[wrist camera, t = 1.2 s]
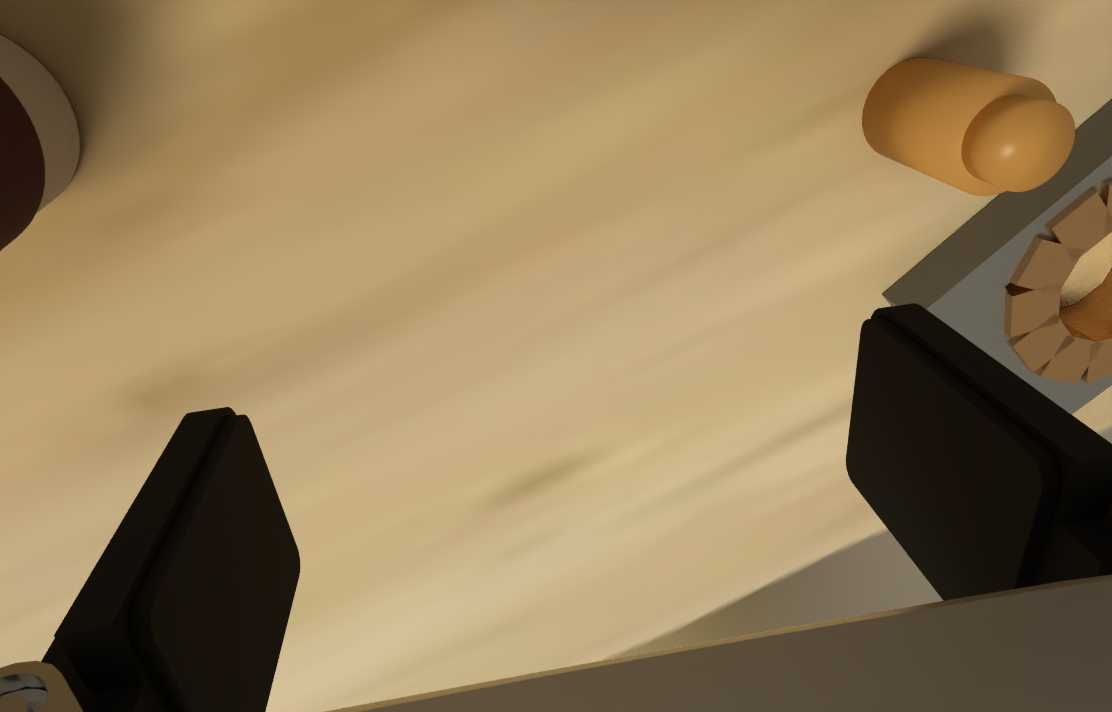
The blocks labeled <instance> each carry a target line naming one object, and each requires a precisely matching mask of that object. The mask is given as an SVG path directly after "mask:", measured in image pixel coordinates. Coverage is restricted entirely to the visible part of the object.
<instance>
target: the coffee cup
mask: <svg viewBox="0 0 1112 712" xmlns="http://www.w3.org/2000/svg"><path fill="white" fill-rule="evenodd" d="M79 155H80V135H79V131H78V126H77V121H76V117H75V115H74V112H73V110H72V108H71V105H70V103H69V101H68V99H67V97H66V95H65V94H64V92H63V90H62V89H61V87H60V85H59V84H58V83H57V81H56V80H55V79H54V78H53V76H52V75H51V74H50V73H49V72H48V71H47V69H46V68H45V67H44V66H43V65H42V64H41V63H40V62H39V61H37V60H36V59H35V58H34V57H33V56H32V55H31V54H29V53H28V52H27V51H25V50H24V49H22V48H21V47H20V46H18V45H17V44H15V43H14V42H12V41H11V40H9V39H7V38H5V37H3V36H1V35H0V251H1V250H2V249H3V248H4V247H6V246H7V245H8V244H9V243H10V242H12V241H13V240H14V239H15V238H17V237H18V236H19V235H20V234H21V233H22V232H23V231H24V230H25V229H26V227H27V226H28V225H29V224H30V223H31V221H32V220H33V218H34V216H35V214H36V213H37V212H39V211H40V210H41V209H42V208H44V207H45V206H46V205H47V204H49V203H50V202H51V201H53V200H54V199H55V198H56V197H57V196H58V195H60V194H61V193H62V192H63V190H64V189H65V188H66V187H67V186H68V184H69V182H70V181H71V179H72V177H73V175H74V172H75V170H76V167H77V163H78V159H79Z"/></svg>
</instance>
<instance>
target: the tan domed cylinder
mask: <svg viewBox="0 0 1112 712" xmlns="http://www.w3.org/2000/svg"><path fill="white" fill-rule="evenodd" d="M862 126H863V132H864V136H865V138H866V140H867V142H868V143H869V145H870V146H871V147H872V148H873V150H875V151H876V152H877V153H879V154H881V155H883V156H885V157H887V158H890V159H892V160H894V161H896V162H899V163H901V164H903V165H905V166H908V167H910V168H912V169H915V170H917V171H919V172H921V173H924V174H926V175H928V176H930V177H933V178H935V179H937V180H940V181H942V182H944V183H946V184H949V185H951V186H953V187H955V188H958V189H960V190H962V191H965V192H967V193H970V194H972V195H977V196H990V195H996V194H1000V193H1003V192H1005V191H1011V192H1023V191H1028V190H1031V189H1034V188H1036V187H1038V186H1040V185H1042V184H1043V183H1045V182H1046V181H1048V180H1049V179H1050V178H1051V177H1052V176H1054V175H1055V174H1056V173H1057V171H1058V170H1059V169H1060V168H1061V167H1062V165H1063V164H1064V163H1065V161H1066V159H1067V158H1068V156H1069V154H1070V152H1071V149H1072V146H1073V143H1074V138H1075V124H1074V120H1073V118H1072V115H1071V114H1070V112H1069V111H1068V110H1067V109H1066V108H1065V107H1064V106H1062V105H1061V104H1058V103H1056V100H1055V97H1054V95H1053V94H1052V92H1051V91H1050V89H1049V88H1048V87H1047V86H1046V85H1044V84H1043V83H1041V82H1040V81H1038V80H1035V79H1032V78H1028V77H1023V76H1018V75H1012V74H1007V73H1002V72H997V71H992V70H987V69H981V68H976V67H971V66H966V65H961V64H956V63H951V62H945V61H940V60H935V59H930V58H921V57H919V58H912V59H908V60H905V61H902V62H900V63H898V64H896V65H895V66H893V67H892V68H890V69H889V70H888V71H886V72H885V73H884V74H883V75H882V76H881V77H880V78H879V79H878V81H877V82H876V83H875V84H874V86H873V88H872V89H871V91H870V93H869V95H868V97H867V99H866V102H865V105H864V109H863V115H862Z"/></svg>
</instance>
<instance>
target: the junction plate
mask: <svg viewBox="0 0 1112 712" xmlns="http://www.w3.org/2000/svg"><path fill="white" fill-rule="evenodd" d="M1109 179H1112V100H1110V101H1109V102H1108V103H1107V104H1106V105H1105V106H1103V107H1102V108H1101V109H1100V110H1099V111H1098V112H1096V113H1095V114H1094V115H1093V116H1092V117H1090V118H1089V119H1088V120H1087V121H1086V122H1085V123H1083V124H1082V125H1081V126H1080V127H1079V128H1077V129H1076V130H1075V138H1074V143H1073V146H1072V149H1071V152H1070V154H1069V156H1068V158H1067V159H1066V161H1065V163H1064V164H1063V165H1062V167H1061V168H1060V169H1059V170H1058V171H1057V173H1056V174H1055V175H1054V176H1052V177H1051V178H1050V179H1049V180H1048V181H1046V182H1045V183H1043V184H1042V185H1040V186H1038V187H1036V188H1034V189H1031V190H1028V191H1023V192H1011V191H1005V192H1003V193H1001V194H1000V195H998V196H997V197H996V198H995V199H994V200H993V201H991V202H990V203H989V204H988V205H987V206H986V207H984V208H983V209H982V210H981V211H980V212H978V213H977V214H976V215H975V216H974V217H973V218H971V219H970V220H969V221H968V222H967V223H965V224H964V225H963V226H962V227H961V228H960V229H958V230H957V231H956V232H955V233H954V234H953V235H951V236H950V237H949V238H948V239H947V240H945V241H944V242H943V243H942V244H941V245H940V246H938V247H937V248H936V249H935V250H934V251H932V252H931V253H930V254H929V255H928V256H927V257H925V258H924V259H923V260H922V261H921V262H920V263H918V264H917V265H916V266H915V267H914V268H912V269H911V270H910V271H909V272H908V273H907V274H905V275H904V276H903V277H902V278H901V279H899V280H898V281H897V282H896V283H895V284H894V285H892V286H891V287H890V288H889V289H888V290H887V291H885V292H884V293H883V294H882V295H883V296H884V297H885V299H886V300H887V301H888V302H889V303H890V305H891V306H898V305H904V304H911V303H917V304H919V305H921V306H922V307H924V308H925V309H926V310H928V311H929V312H931V313H932V314H933V315H935V316H936V317H937V318H939V319H940V320H942V321H943V322H944V323H946V324H947V325H948V326H950V327H951V328H953V329H954V330H955V331H957V332H958V333H959V334H961V335H962V336H964V337H965V338H966V339H968V340H969V341H971V342H972V343H973V344H975V345H976V346H977V347H979V348H980V349H982V350H983V351H984V352H986V353H987V354H988V355H990V356H991V357H993V358H994V359H995V360H997V361H998V362H999V363H1001V364H1002V365H1004V366H1005V367H1006V368H1008V369H1009V370H1010V371H1012V372H1013V373H1015V374H1016V375H1017V376H1019V377H1020V378H1021V379H1023V380H1024V381H1026V382H1027V383H1028V384H1030V385H1031V386H1033V387H1034V388H1035V389H1037V390H1038V391H1039V392H1041V393H1042V394H1044V395H1045V396H1046V397H1048V398H1049V399H1050V400H1052V401H1053V402H1055V403H1056V404H1057V405H1059V406H1060V407H1061V408H1063V409H1064V410H1066V411H1067V412H1068V413H1070V414H1071V415H1072V414H1073V413H1074V412H1076V411H1077V410H1079V409H1080V408H1081V407H1083V406H1084V405H1085V404H1087V403H1088V402H1089V401H1091V400H1092V399H1094V398H1095V397H1096V396H1098V395H1099V394H1100V393H1102V392H1103V391H1104V390H1106V389H1107V388H1109V387H1110V386H1111V385H1112V376H1109V377H1105V378H1102V379H1099V380H1095V381H1092V382H1089V383H1086V382H1084V381H1083V380H1081V379H1079V381H1078V382H1077V384H1074V383H1069V382H1064V381H1059V380H1054V379H1049V378H1044V377H1040V376H1038V375H1037V374H1036V373H1034V372H1032V371H1030V370H1029V369H1027V368H1026V367H1025V365H1024V364H1023V363H1022V362H1021V360H1020V359H1019V358H1018V356H1017V355H1016V354H1015V352H1014V351H1013V350H1012V349H1011V347H1010V346H1009V345H1008V343H1007V342H1006V341H1008V340H1009V339H1010V337H1009V336H1007V335H1006V334H1004V316H1005V294H1006V292H1008V291H1007V290H1006V288H1005V286H1006V285H1008V284H1009V283H1010V282H1009V281H1010V279H1011V277H1012V275H1013V274H1014V272H1015V270H1016V268H1017V267H1018V265H1019V263H1020V261H1021V260H1022V258H1023V256H1024V254H1025V253H1026V251H1027V249H1028V247H1029V246H1030V244H1031V242H1032V240H1033V239H1034V237H1035V236H1037V237H1041V238H1045V239H1049V240H1053V238H1052V237H1051V235H1050V234H1049V232H1048V231H1047V229H1046V228H1045V226H1044V225H1045V224H1046V223H1047V222H1049V221H1050V220H1051V219H1052V218H1054V217H1055V216H1056V215H1057V214H1058V213H1060V212H1061V211H1062V210H1063V209H1065V208H1066V207H1067V206H1068V205H1069V204H1071V203H1072V202H1073V201H1074V200H1076V199H1077V198H1078V197H1079V196H1080V195H1082V194H1083V193H1084V192H1085V191H1086V190H1088V189H1090V190H1093V191H1096V192H1098V194H1100V185H1101V182H1103V181H1106V180H1109ZM1053 241H1054V240H1053Z"/></svg>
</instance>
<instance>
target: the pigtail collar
mask: <svg viewBox="0 0 1112 712" xmlns="http://www.w3.org/2000/svg"><path fill="white" fill-rule="evenodd" d="M1044 226H1045V228H1046V229H1047V231H1048V232H1049V234H1050V235H1051V237H1052V238H1053V240H1054V241H1053V240H1049V239H1045V238H1041V237H1037V236H1035V237H1034V239H1033V240H1032V242H1031V244H1030V246H1029V247H1028V249H1027V251H1026V253H1025V254H1024V256H1023V258H1022V260H1021V261H1020V263H1019V265H1018V267H1017V268H1016V270H1015V272H1014V274H1013V275H1012V277H1011V279H1010V281H1009V282H1010V283H1009V284H1008V285H1006V286H1005V288H1006V290H1007V291H1008V292H1006V294H1005V316H1004V334H1006V335H1007V336H1009V337H1010V339H1009V340H1008V341H1006V342H1007V343H1008V345H1009V346H1010V347H1011V349H1012V350H1013V351H1014V352H1015V354H1016V355H1017V356H1018V358H1019V359H1020V360H1021V362H1022V363H1023V364H1024V365H1025V367H1026V368H1027V369H1029V370H1030V371H1032V372H1034V373H1036V374H1037V375H1038V376H1040V377H1044V378H1049V379H1054V380H1059V381H1064V382H1069V383H1074V384H1077V382H1078V381H1079V379H1081V380H1083V381H1084V382H1086V383H1089V382H1092V381H1095V380H1099V379H1102V378H1105V377H1109V376H1112V270H1111V271H1110V273H1109V274H1108V276H1107V278H1106V279H1105V281H1104V282H1103V284H1101V285H1100V286H1099V287H1098V288H1096V289H1095V290H1094V291H1092V292H1091V293H1090V294H1089V295H1087V296H1086V297H1085V298H1083V299H1082V300H1081V301H1080V302H1078V303H1077V304H1075V305H1072V306H1068V307H1065V308H1062V309H1059V307H1060V296H1061V288H1062V286H1063V284H1064V283H1065V281H1066V279H1067V278H1068V276H1069V275H1070V273H1071V271H1072V270H1073V268H1074V266H1075V265H1076V263H1077V261H1078V260H1079V258H1080V257H1081V256H1082V255H1083V254H1084V253H1086V252H1087V251H1088V250H1089V249H1091V248H1092V247H1093V246H1095V245H1096V244H1097V243H1098V242H1100V241H1101V240H1102V239H1103V238H1105V237H1106V236H1107V235H1108V234H1110V233H1111V232H1112V179H1109V180H1106V181H1103V182H1101V185H1100V194H1098V192H1096V191H1093V190H1090V189H1088V190H1086V191H1085V192H1084V193H1083V194H1082V195H1080V196H1079V197H1078V198H1077V199H1076V200H1074V201H1073V202H1072V203H1071V204H1069V205H1068V206H1067V207H1066V208H1065V209H1063V210H1062V211H1061V212H1060V213H1058V214H1057V215H1056V216H1055V217H1054V218H1052V219H1051V220H1050V221H1049V222H1047V223H1046V224H1045V225H1044Z"/></svg>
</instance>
